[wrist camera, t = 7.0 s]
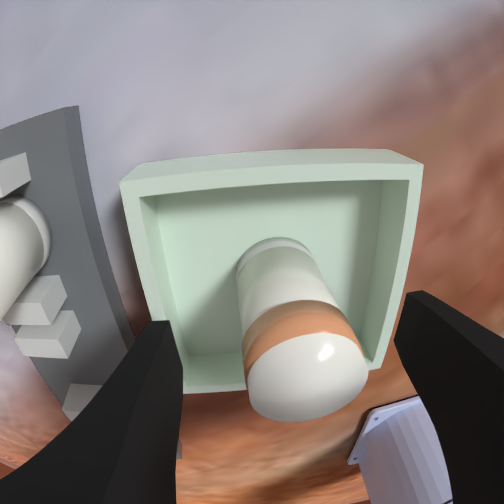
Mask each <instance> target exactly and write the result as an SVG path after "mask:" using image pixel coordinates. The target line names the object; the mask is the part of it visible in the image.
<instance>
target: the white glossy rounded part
mask: <svg viewBox="0 0 504 504" xmlns="http://www.w3.org/2000/svg"><path fill="white" fill-rule="evenodd" d="M52 247H53V237H52V231H51V228H50V225H49V222H48V220H47V218H46V216H45V215H44V213H43V212H42V210H41V209H40V208H39V207H38V206H37V205H36V204H35V203H34V202H33V201H31V200H30V199H28V198H26V197H23V196H19V195H12V196H8V197H6V198H4V199H3V200H1V201H0V321H1V320H2V319H3V317H4V316H5V314H6V313H7V311H8V310H9V309H10V307H11V306H12V304H13V303H14V302H15V300H16V299H17V298H18V296H19V295H20V294H21V292H22V291H23V290H24V288H25V287H26V286H27V284H28V283H29V282H30V281H31V279H32V278H33V277H34V276H35V274H36V273H37V272H38V271H39V270H40V269H41V268H42V266H43V265H44V264H45V263H46V262H47V260H48V259H49V257H50V255H51V252H52Z"/></svg>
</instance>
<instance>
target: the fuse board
mask: <svg viewBox="0 0 504 504" xmlns="http://www.w3.org/2000/svg"><path fill="white" fill-rule="evenodd" d="M12 195H19V196H23V197H26V198H28V199H30V200H31V201H33V202H34V203H35V204H36V205H37V206H38V207H39V208H40V209H41V210H42V212H43V213H44V215H45V216H46V218H47V220H48V222H49V225H50V228H51V231H52V237H53V247H52V252H51V255H50V257H49V259H48V260H47V262H46V263H45V264H44V265H43V266H42V268H41V269H40V270H39V271H38V272H37V273H36V274H35V276H34V277H33V278H32V279H31V281H30V282H29V283H28V284H27V286H26V287H25V288H24V290H23V291H22V292H21V294H20V295H19V296H18V298H17V299H16V300H15V302H14V303H13V304H12V306H11V307H10V309H9V310H8V311H7V313H6V314H5V316H4V317H3V319H4V321H5V323H6V325H12V327H13V329H14V331H15V333H16V335H15V337H14V339H15V341H16V343H17V344H18V346H19V348H20V350H21V351H22V353H23V354H24V356H29V357H30V359H31V360H32V362H33V363H34V365H35V367H36V368H37V370H38V371H39V373H40V374H41V376H42V377H43V379H44V380H45V382H46V383H47V385H48V386H49V388H50V389H51V390H52V392H53V393H54V395H55V396H56V397H57V399H58V400H59V402H60V403H61V404H62V406H63V407H62V411H63V412H64V414H65V415H66V416H67V417H68V419H69V420H70V421H73V420H74V419H75V418H76V417H77V416H78V414H79V413H80V412H81V411H82V410H83V409H84V408H85V407H86V405H87V404H88V403H89V402H90V401H91V400H92V398H93V397H94V396H95V395H96V393H97V392H98V391H99V390H100V388H101V387H102V386H103V385H104V383H105V382H106V381H107V380H108V378H109V377H110V376H111V374H112V373H113V371H114V370H115V369H116V367H117V366H118V365H119V363H120V362H121V360H122V359H123V358H124V356H125V355H126V353H127V352H128V351H129V349H130V348H131V346H132V345H133V343H134V342H135V338H134V335H133V332H132V329H131V327H130V324H129V321H128V318H127V315H126V313H125V310H124V307H123V304H122V301H121V298H120V295H119V291H118V288H117V285H116V282H115V279H114V275H113V272H112V269H111V265H110V262H109V258H108V255H107V251H106V247H105V244H104V240H103V236H102V232H101V228H100V224H99V220H98V216H97V211H96V207H95V203H94V198H93V193H92V189H91V184H90V179H89V173H88V168H87V162H86V157H85V151H84V144H83V138H82V131H81V123H80V115H79V107H78V106H72V107H65V108H61V109H57V110H54V111H51V112H48V113H45V114H42V115H39V116H36V117H33V118H30V119H27V120H24V121H22V122H19V123H16V124H14V125H11V126H8V127H6V128H3V129H1V130H0V201H1V200H3V199H4V198H6V197H8V196H12ZM176 459H182V444H181V442H180V440H179V438H178V446H177V455H176Z"/></svg>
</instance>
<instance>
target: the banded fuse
mask: <svg viewBox="0 0 504 504" xmlns="http://www.w3.org/2000/svg"><path fill="white" fill-rule="evenodd" d="M236 285H237V292H238V299H239V309H240V318H241V328H242V337H243V341H242V357H243V367H244V376H245V384H246V388H247V391H248V393H249V398H250V403H251V405H252V407H253V409H254V410H255V411H256V412H257V413H259V414H260V415H262V416H264V417H266V418H268V419H271V420H275V421H280V422H302V421H308V420H313V419H317V418H320V417H323V416H326V415H328V414H331V413H333V412H335V411H337V410H339V409H340V408H342V407H344V406H345V405H347V404H348V403H349V402H350V401H352V400H353V399H354V398H355V397H356V396H357V395H358V394H359V393H360V391H361V390H362V389H363V387H364V385H365V383H366V381H367V378H368V367H367V364H366V362H365V360H364V354H363V350H362V348H361V346H360V344H359V342H358V340H357V338H356V336H355V334H354V332H353V330H352V328H351V326H350V324H349V322H348V320H347V318H346V316H345V315H344V314H343V313H342V311H341V310H340V309H339V307H338V305H337V303H336V301H335V299H334V297H333V295H332V293H331V291H330V289H329V287H328V285H327V283H326V282H325V280H324V278H323V276H322V274H321V272H320V270H319V268H318V265H317V263H316V261H315V259H314V258H313V256H312V254H311V252H310V251H309V250H308V248H307V247H306V246H304V245H303V244H302V243H300V242H299V241H296V240H294V239H291V238H286V237H272V238H267V239H264V240H261V241H259V242H257V243H255V244H254V245H252V246H251V247H250V248H248V249H247V250H246V251H245V252H244V254H243V255H242V256H241V258H240V260H239V262H238V264H237V267H236Z"/></svg>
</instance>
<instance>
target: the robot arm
mask: <svg viewBox="0 0 504 504" xmlns="http://www.w3.org/2000/svg"><path fill="white" fill-rule="evenodd" d="M394 343H395V346H396V349H397V351H398V354H399V357H400V359H401V362H402V364H403V367H404V369H405V371H406V373H407V374H408V376H409V378H410V380H411V382H412V384H413V386H414V388H415V389H416V391H417V393H418V395H419V396H416V397H413V398H410V399H407V400H403V401H400V402H397V403H393V404H390V405H386V406H382V407H379V408H375V409H373V410H372V411H370V413H369V415H368V417H367V419H366V422H365V424H364V426H363V428H362V431H361V433H360V435H359V437H358V439H357V442H356V444H355V446H354V448H353V450H352V452H351V454H350V456H349V458H348V460H347V463H348V465H353V464H357V463H358V464H359V467H360V470H361V473H362V476H363V480H364V483H365V486H366V489H367V492H368V495H369V499H370V502H371V504H504V338H502V337H500V336H499V335H497V334H495V333H493V332H492V331H490V330H488V329H486V328H485V327H483V326H481V325H480V324H478V323H477V322H475V321H473V320H472V319H470V318H468V317H467V316H465V315H464V314H462V313H460V312H459V311H457V310H456V309H454V308H452V307H451V306H449V305H448V304H446V303H444V302H443V301H441V300H439V299H438V298H436V297H434V296H432V295H430V294H429V293H427V292H425V291H423V290H421V291H415V292H409V293H407V294H406V298H405V302H404V306H403V309H402V313H401V317H400V320H399V324H398V327H397V331H396V334H395V338H394ZM182 402H183V366H182V362H181V359H180V356H179V352H178V349H177V345H176V342H175V338H174V335H173V331H172V327H171V324H170V320H160V321H149V322H148V323H147V324H146V326H145V327H144V329H143V330H142V332H141V333H140V335H139V336H138V337H137V339H136V340H135V342H134V343H133V345H132V346H131V348H130V349H129V351H128V352H127V353H126V355H125V356H124V358H123V359H122V360H121V362H120V363H119V365H118V366H117V367H116V369H115V370H114V371H113V373H112V374H111V376H110V377H109V378H108V380H107V381H106V382H105V383H104V385H103V386H102V387H101V388H100V390H99V391H98V392H97V393H96V395H95V396H94V397H93V398H92V400H91V401H90V402H89V403H88V404H87V405H86V407H85V408H84V409H83V410H82V411H81V412H80V413H79V414H78V416H77V417H76V418H75V419H74V420H73V421H72V422H71V423H70V424H69V425H68V426H67V427H66V428H65V429H64V430H63V431H62V432H61V433H60V434H59V435H58V436H56V437H55V438H54V439H53V440H52V441H51V442H50V443H49V444H48V445H47V446H45V447H44V448H43V449H42V450H41V451H40V452H39V453H37V454H36V455H35V456H33V457H32V458H31V459H30V460H28V461H27V462H26V463H24V464H23V465H22V466H20V467H19V468H17V469H16V470H15V471H13V472H12V473H10V474H9V475H7V476H6V477H4V478H2V479H0V504H176V480H175V470H176V455H177V446H178V437H179V428H180V419H181V411H182Z"/></svg>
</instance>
